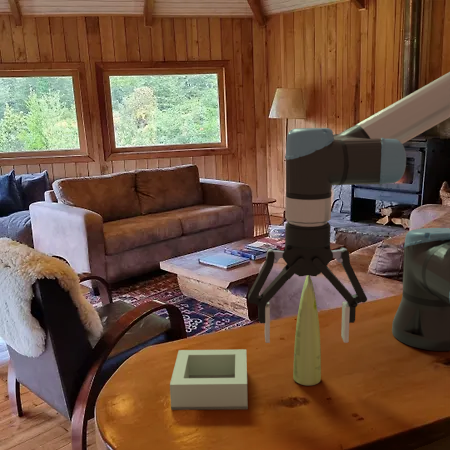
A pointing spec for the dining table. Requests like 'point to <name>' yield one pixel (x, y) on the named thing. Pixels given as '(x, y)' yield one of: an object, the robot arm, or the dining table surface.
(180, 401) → the socket block
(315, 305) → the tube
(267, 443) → the dining table surface
